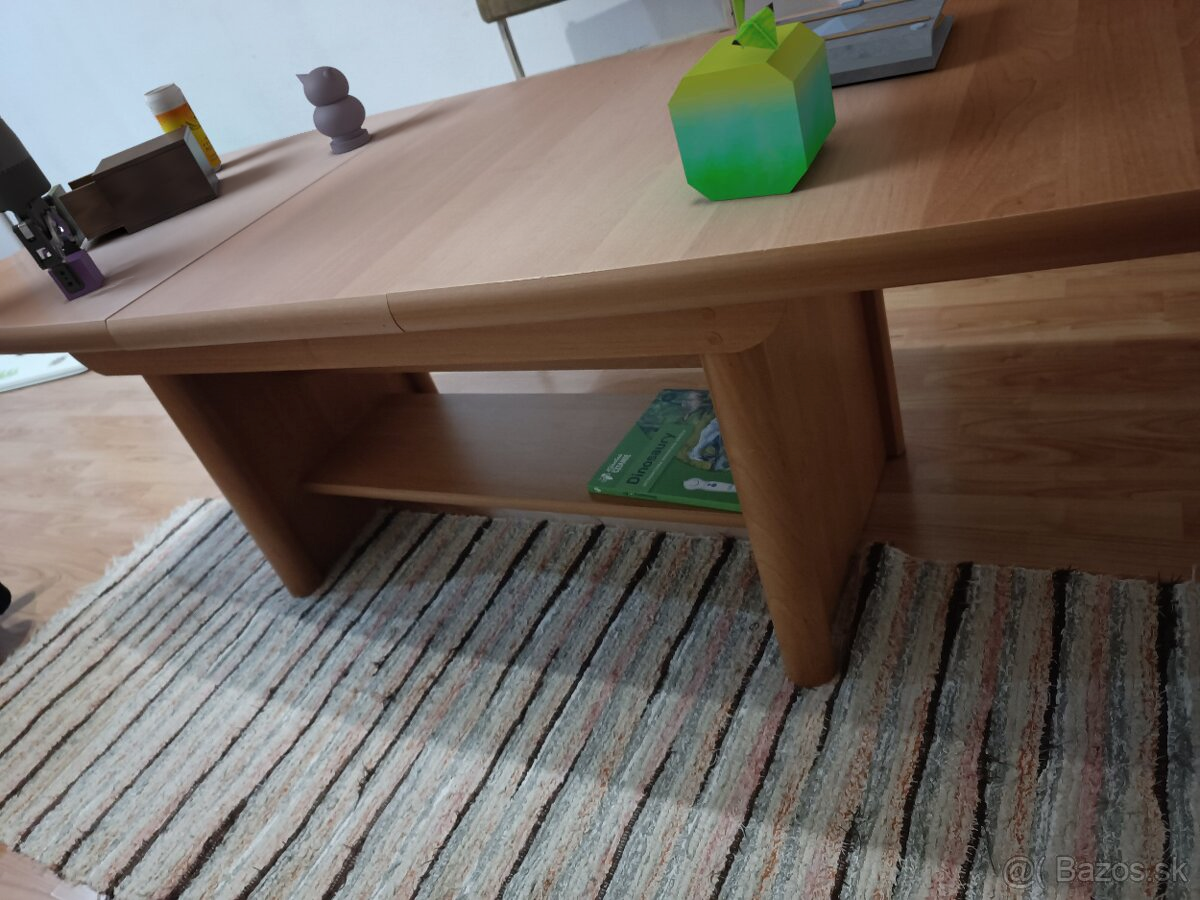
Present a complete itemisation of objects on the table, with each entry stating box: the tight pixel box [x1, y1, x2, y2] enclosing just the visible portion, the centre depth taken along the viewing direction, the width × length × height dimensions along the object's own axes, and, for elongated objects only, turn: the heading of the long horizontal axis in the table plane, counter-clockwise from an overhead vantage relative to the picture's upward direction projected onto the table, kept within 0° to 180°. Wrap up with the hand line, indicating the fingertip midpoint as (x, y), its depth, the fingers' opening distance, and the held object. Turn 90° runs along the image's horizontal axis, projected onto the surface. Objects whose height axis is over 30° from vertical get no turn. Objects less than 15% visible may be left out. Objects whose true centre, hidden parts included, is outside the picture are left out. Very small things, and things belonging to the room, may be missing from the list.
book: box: [775, 0, 955, 87], centre depth 94 cm, size 21×16×5 cm
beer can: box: [143, 82, 222, 173], centre depth 151 cm, size 6×6×15 cm
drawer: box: [45, 171, 124, 248], centre depth 137 cm, size 19×11×8 cm, turn 111°
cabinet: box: [91, 125, 220, 235], centre depth 139 cm, size 15×13×10 cm
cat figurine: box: [295, 65, 372, 155], centre depth 134 cm, size 8×8×12 cm
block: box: [47, 248, 105, 302], centre depth 116 cm, size 4×4×4 cm
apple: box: [667, 0, 837, 202], centre depth 74 cm, size 11×10×15 cm
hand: (82, 281), depth 117 cm, fingers open, 7 cm apart
